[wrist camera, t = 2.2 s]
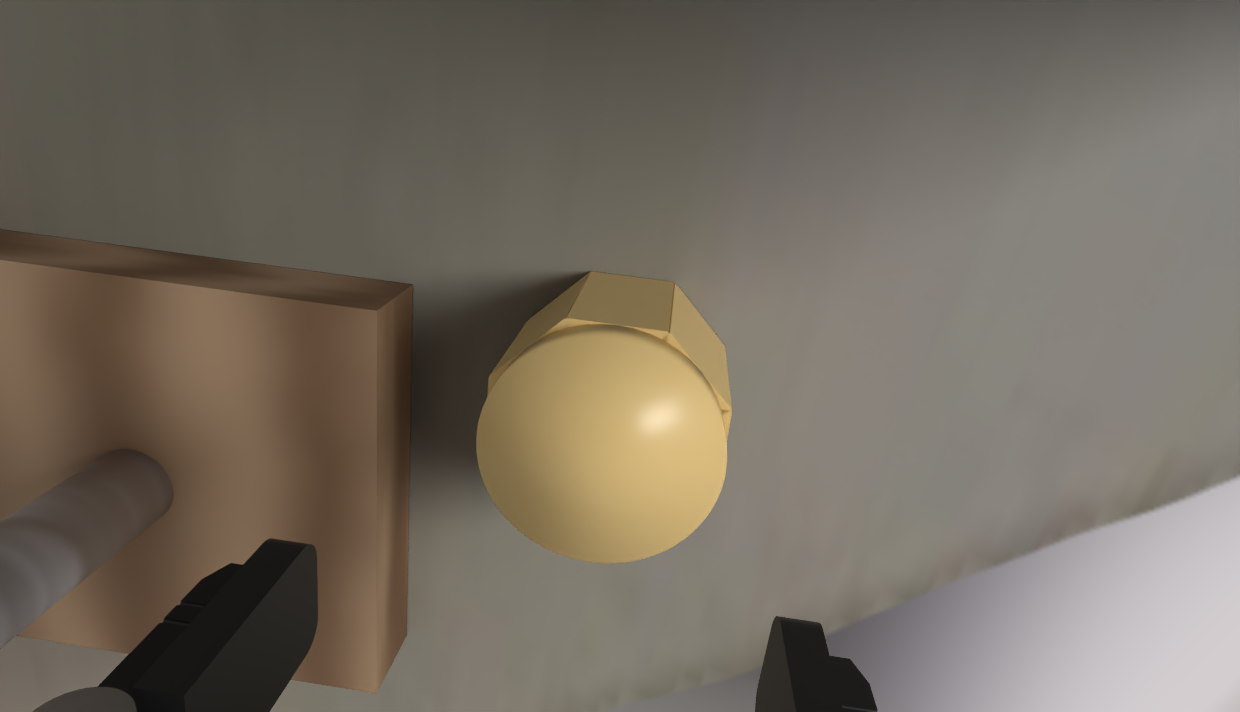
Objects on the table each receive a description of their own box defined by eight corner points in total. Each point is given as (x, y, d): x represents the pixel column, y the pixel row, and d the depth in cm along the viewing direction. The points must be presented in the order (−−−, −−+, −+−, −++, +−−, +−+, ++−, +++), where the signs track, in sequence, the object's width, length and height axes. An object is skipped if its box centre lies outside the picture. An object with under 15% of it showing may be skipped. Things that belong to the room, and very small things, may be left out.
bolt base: (413, 284, 25) (212, 431, 15) (406, 635, 30) (253, 931, 19) (-58, 221, 26) (-566, 318, 15) (11, 573, 30) (-339, 826, 20)
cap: (734, 290, 24) (746, 355, 18) (704, 471, 26) (706, 579, 21) (531, 263, 24) (482, 319, 19) (518, 444, 26) (470, 544, 21)
